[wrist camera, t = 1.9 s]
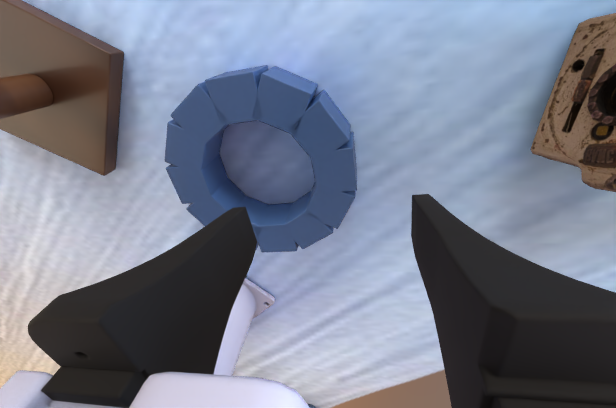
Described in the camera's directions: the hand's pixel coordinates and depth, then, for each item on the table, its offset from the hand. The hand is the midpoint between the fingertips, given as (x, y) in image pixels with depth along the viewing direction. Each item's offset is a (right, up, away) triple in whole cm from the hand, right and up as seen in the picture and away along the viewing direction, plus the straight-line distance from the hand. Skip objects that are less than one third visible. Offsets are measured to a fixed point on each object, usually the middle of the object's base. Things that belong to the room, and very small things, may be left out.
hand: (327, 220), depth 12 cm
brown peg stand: (-18, +9, +7) cm, 21 cm away
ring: (-4, +4, +7) cm, 9 cm away
